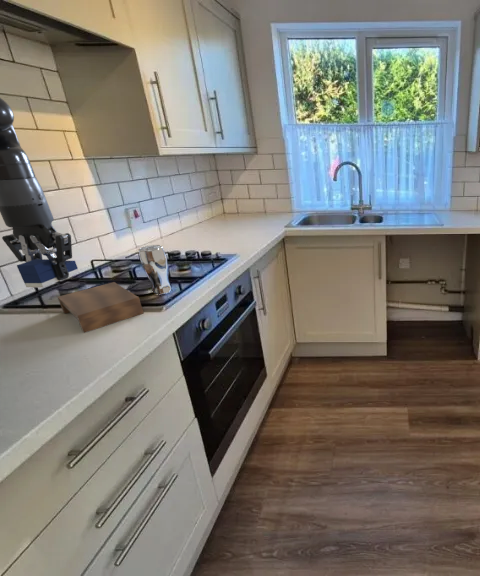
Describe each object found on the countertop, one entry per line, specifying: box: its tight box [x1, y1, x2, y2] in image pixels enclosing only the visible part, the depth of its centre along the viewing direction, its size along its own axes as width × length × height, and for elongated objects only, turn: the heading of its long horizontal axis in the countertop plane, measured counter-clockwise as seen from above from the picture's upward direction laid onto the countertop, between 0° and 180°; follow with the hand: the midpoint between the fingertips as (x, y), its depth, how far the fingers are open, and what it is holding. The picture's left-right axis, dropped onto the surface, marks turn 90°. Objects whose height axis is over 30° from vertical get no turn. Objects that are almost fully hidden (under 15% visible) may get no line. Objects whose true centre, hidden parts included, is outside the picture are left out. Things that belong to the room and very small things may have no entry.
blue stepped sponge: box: [16, 258, 80, 289], centre depth 80 cm, size 9×4×5 cm, turn 176°
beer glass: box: [137, 244, 174, 295], centre depth 114 cm, size 7×7×15 cm
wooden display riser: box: [57, 281, 145, 334], centre depth 103 cm, size 14×20×5 cm
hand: (53, 278), depth 81 cm, fingers closed on blue stepped sponge, 4 cm apart
